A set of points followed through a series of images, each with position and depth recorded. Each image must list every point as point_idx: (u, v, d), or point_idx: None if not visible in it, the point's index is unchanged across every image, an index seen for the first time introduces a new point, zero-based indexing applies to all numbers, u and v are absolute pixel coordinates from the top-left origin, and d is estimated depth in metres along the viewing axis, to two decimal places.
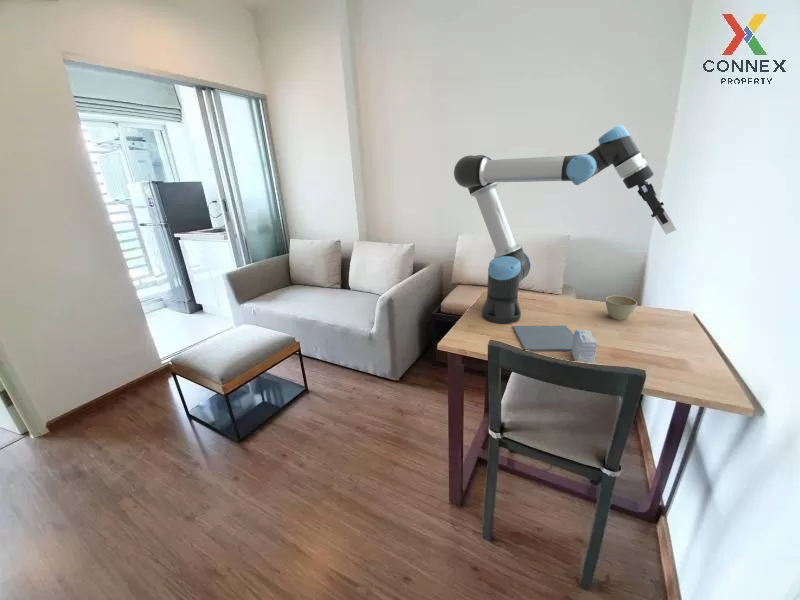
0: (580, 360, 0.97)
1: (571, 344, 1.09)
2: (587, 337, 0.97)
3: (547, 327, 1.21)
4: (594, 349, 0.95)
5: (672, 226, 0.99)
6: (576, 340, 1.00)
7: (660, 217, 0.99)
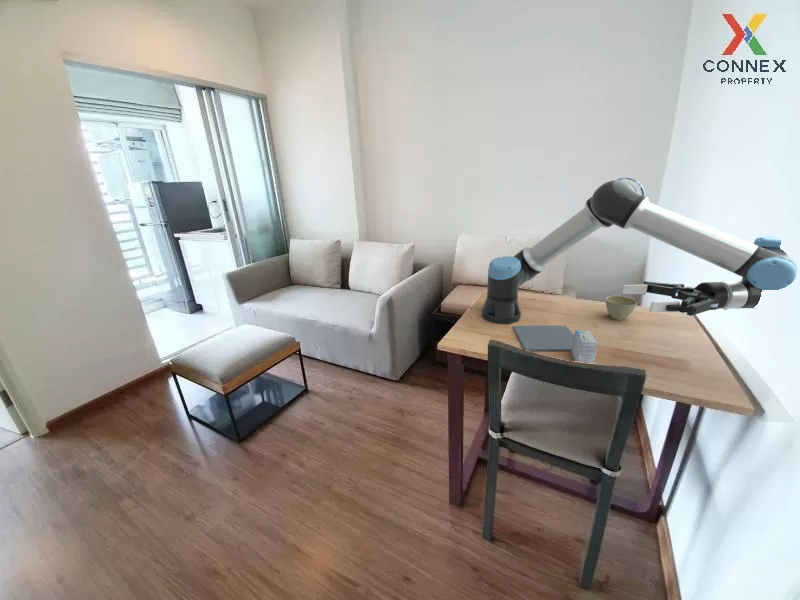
0: (580, 360, 0.97)
1: (571, 344, 1.09)
2: (587, 337, 0.97)
3: (547, 327, 1.21)
4: (594, 349, 0.95)
5: (657, 310, 0.86)
6: (576, 340, 1.00)
7: (678, 307, 0.84)
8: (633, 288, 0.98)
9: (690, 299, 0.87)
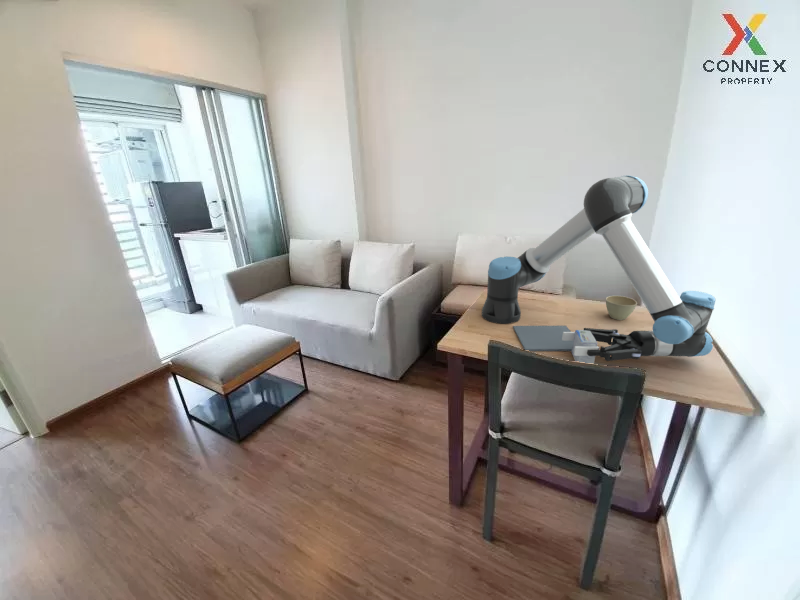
0: (580, 360, 0.97)
1: (571, 344, 1.09)
2: (587, 337, 0.97)
3: (547, 327, 1.21)
4: None
5: (579, 354, 0.95)
6: (576, 340, 1.00)
7: (597, 352, 0.93)
8: (572, 335, 1.03)
9: (613, 346, 0.95)
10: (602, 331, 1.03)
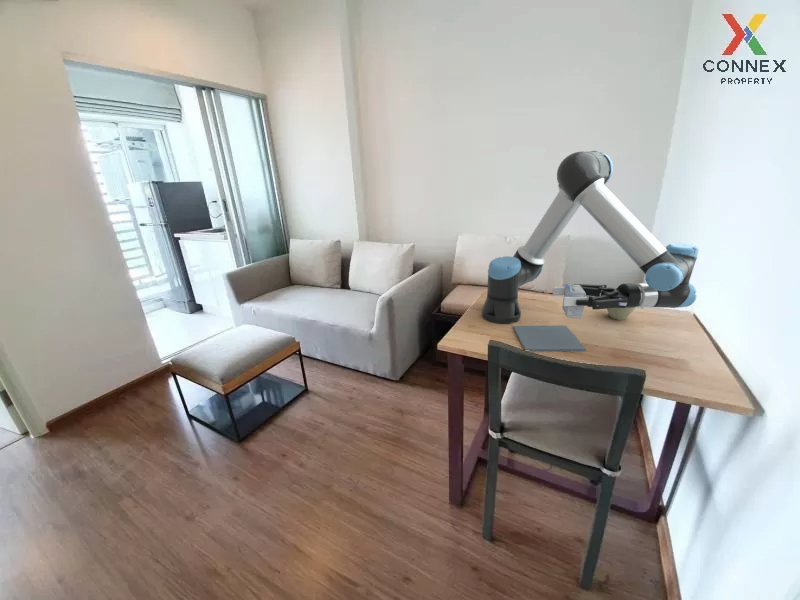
0: (569, 311, 1.02)
1: (571, 344, 1.09)
2: (576, 289, 1.02)
3: (547, 327, 1.21)
4: None
5: (568, 304, 1.00)
6: (566, 293, 1.05)
7: (585, 302, 0.98)
8: (562, 290, 1.08)
9: (601, 296, 0.99)
10: (591, 286, 1.08)
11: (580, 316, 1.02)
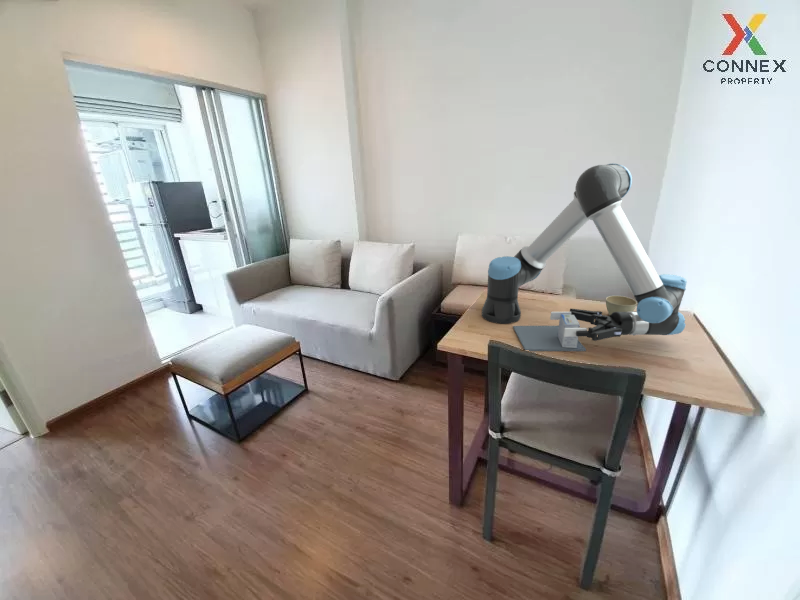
0: (564, 341, 1.06)
1: None
2: (571, 320, 1.06)
3: (547, 327, 1.21)
4: None
5: (569, 335, 1.02)
6: (561, 323, 1.09)
7: (585, 333, 1.00)
8: (559, 315, 1.13)
9: (598, 326, 1.02)
10: (586, 312, 1.13)
11: (575, 346, 1.06)
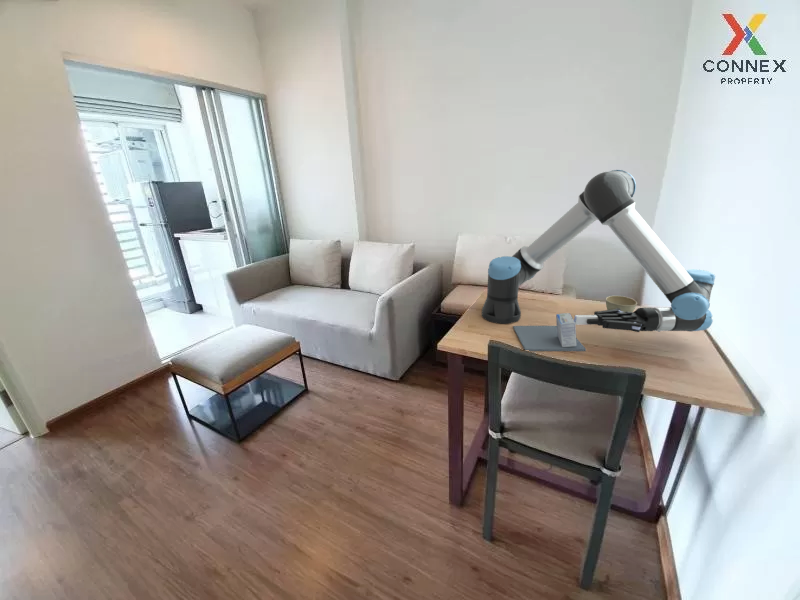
0: (563, 341, 1.06)
1: None
2: (566, 319, 1.06)
3: (547, 327, 1.21)
4: (573, 328, 1.04)
5: (580, 323, 1.06)
6: (558, 323, 1.09)
7: (596, 321, 1.04)
8: None
9: (614, 318, 1.04)
10: (610, 312, 1.09)
11: (574, 344, 1.06)
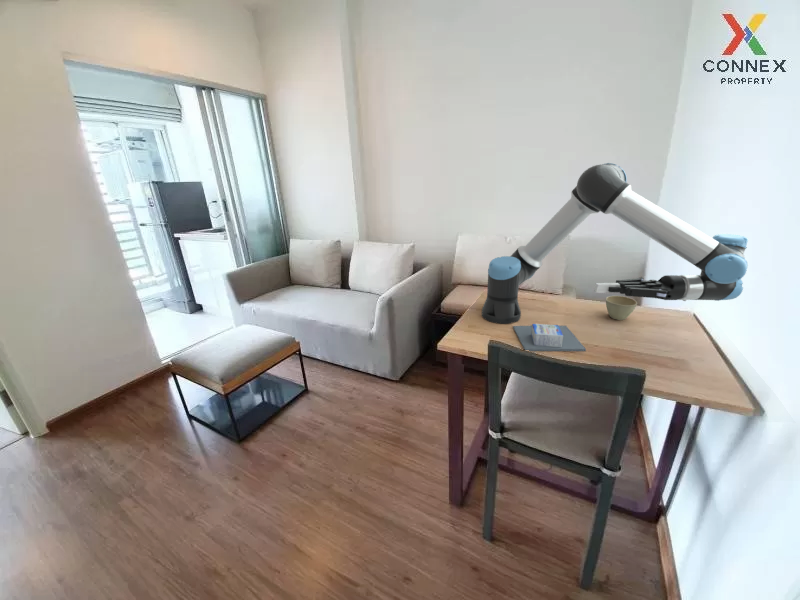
0: (554, 345, 1.08)
1: (571, 344, 1.09)
2: (533, 335, 1.11)
3: None
4: (541, 336, 1.08)
5: (601, 291, 1.01)
6: None
7: (618, 289, 0.99)
8: None
9: (637, 285, 0.99)
10: (632, 280, 1.04)
11: (560, 337, 1.06)
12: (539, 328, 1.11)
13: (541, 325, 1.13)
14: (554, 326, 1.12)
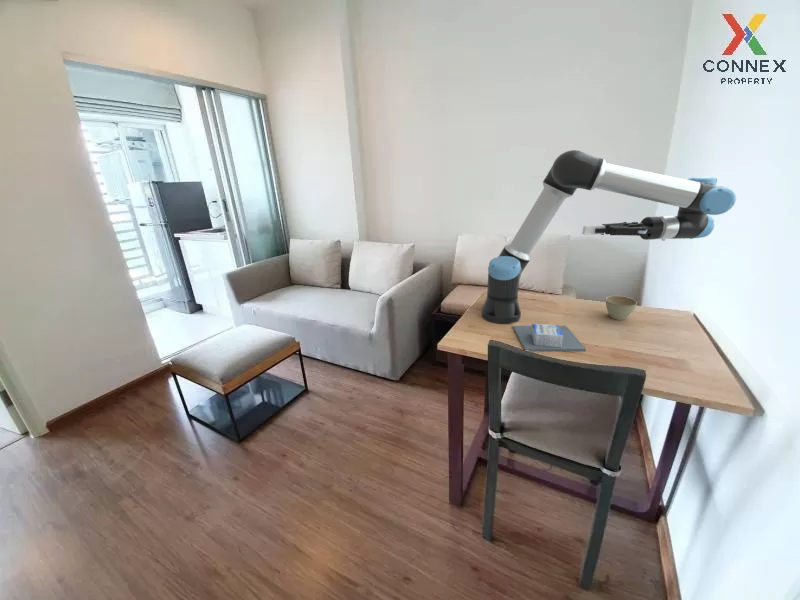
0: (554, 345, 1.08)
1: (571, 344, 1.09)
2: (533, 335, 1.11)
3: None
4: (541, 336, 1.08)
5: (588, 233, 1.12)
6: None
7: (603, 229, 1.10)
8: None
9: (621, 226, 1.10)
10: (617, 224, 1.14)
11: (560, 337, 1.06)
12: (539, 328, 1.11)
13: (541, 325, 1.13)
14: (554, 326, 1.12)
